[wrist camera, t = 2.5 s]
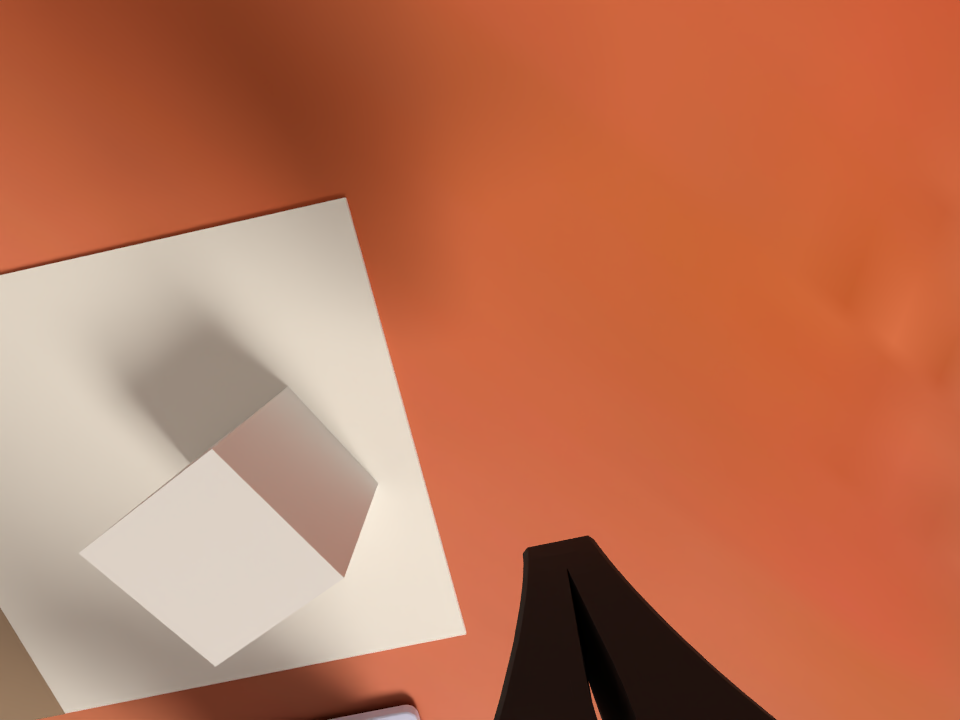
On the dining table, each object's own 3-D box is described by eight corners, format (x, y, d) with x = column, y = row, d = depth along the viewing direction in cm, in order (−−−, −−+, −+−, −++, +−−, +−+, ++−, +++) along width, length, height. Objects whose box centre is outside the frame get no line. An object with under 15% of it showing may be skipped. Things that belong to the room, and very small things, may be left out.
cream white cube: (190, 462, 17) (76, 553, 12) (288, 385, 16) (210, 447, 11) (283, 552, 18) (214, 668, 13) (379, 483, 17) (344, 578, 12)
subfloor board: (466, 622, 20) (466, 634, 19) (-132, 741, 20) (-150, 756, 20) (349, 199, 15) (345, 197, 14) (-422, 373, 16) (-457, 378, 15)
